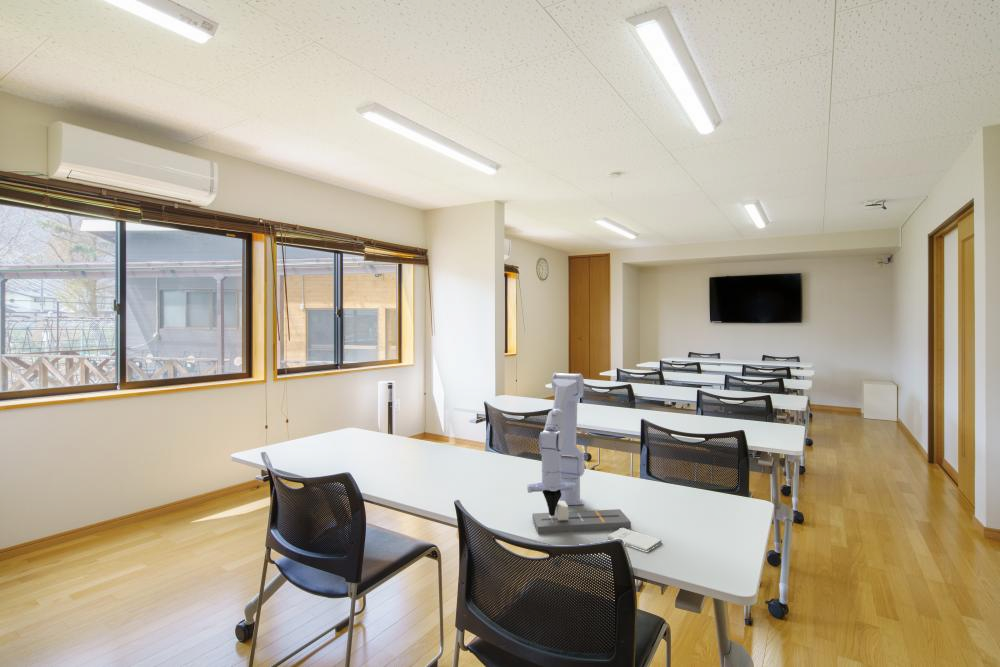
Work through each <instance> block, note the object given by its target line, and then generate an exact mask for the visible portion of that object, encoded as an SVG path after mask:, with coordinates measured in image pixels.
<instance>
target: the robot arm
mask: <svg viewBox="0 0 1000 667" xmlns="http://www.w3.org/2000/svg"><path fill="white" fill-rule="evenodd" d="M584 383H585V380H584V376H583V374H582V373H568V372H567V373H566V372H565V373H563V372H562V373H560V372H554V373H553V374H552V377H551V388H552V390H553V393H554V399H553V405H552V406H553V407H552V409H551V410H550V411H549V412H548V414H547V418H546V421H545V425H544V428H543V431H540V433H539V436H538V447H539V454H540V456H541V482H536V483H531V484H526V489H527V490H526V491H527V493H528V494H530V493H537V492H541V493H542V494H543V497H544V499H545V502H546V505H547V508H548V513H549V514H550V516H554V515H555V510H556V506H557V504H558V501H565V502H566V504H567V505H568V506H579V505H582V506H583V505H584V504H585V503H584V502H583V500H582V499H581V477H582V476H583V475H584V474H585V469H586V463H585V453H584V452H583V451H582V450H581V449H580V448H579V447H578V446H577V431H578V430H577V428H578V426H577V424H578V420H577V419H578V403H579V399H581V398H584Z"/></svg>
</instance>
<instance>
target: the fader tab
mask: <svg viewBox="0 0 1000 667" xmlns="http://www.w3.org/2000/svg"><path fill="white" fill-rule="evenodd" d="M568 512H569V505H567V504H566V502H565V501H558V504H557V506H556V510H555V515H556V517H557V518H558V520H568Z"/></svg>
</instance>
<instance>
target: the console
mask: <svg viewBox="0 0 1000 667" xmlns="http://www.w3.org/2000/svg"><path fill="white" fill-rule="evenodd" d="M532 519H533V520H532ZM532 519H531V520H532V522H533V521H534V522H533V525H534V524H535V525H534V527H535V529H537V530H536V532H538V533H537V534H549V533H548V532H556V533H569V532H568V531H574V532H590V531H591V530H592V531H607V530H606V529H612V530H619V528H631V527H632V522H631V520H630V519H629V518H628V517H627V516H626V515H625V512H623V511H622V510H621V509H620V508H617V509H598V510H597V509H596V510H594V509H593V510H580V511H579V510H578V511H577V510H576V511H575V510H574V511H573V510H572V511H568V520H558V518H557V517H556V515H554V516H550V514H549V512H538V513H537V512H535V513H532ZM631 529H632V528H631ZM546 532H547V533H546Z"/></svg>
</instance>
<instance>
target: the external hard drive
mask: <svg viewBox="0 0 1000 667" xmlns="http://www.w3.org/2000/svg"><path fill="white" fill-rule="evenodd" d="M614 538H620V539H623V540H624V542H625V545H624V546H627V545H628V546H627V547H629V546H633V547H636V548H638V549H641V550H644V551H648V550H650V549H652V548H653V547H655V546H656V545H658V544H660V543H661V542H662V543H663V541H662V539H659V538H656V537H653V536H651V535H646V534H645V533H640V532H637V531H634V530H631V529H625V528H621V529H616V530H615V531H613V532H611V533H610V534H608V535H607V539H606V540H610V539H614ZM610 541H611V540H610ZM662 543H661V544H662ZM661 544H660V545H661ZM658 546H659V545H658ZM655 548H656V547H655ZM652 550H653V549H652Z"/></svg>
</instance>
